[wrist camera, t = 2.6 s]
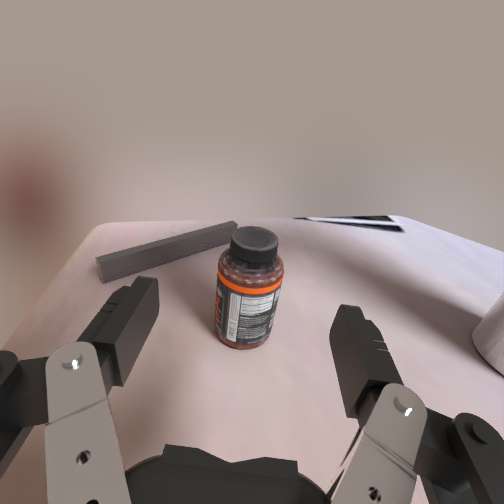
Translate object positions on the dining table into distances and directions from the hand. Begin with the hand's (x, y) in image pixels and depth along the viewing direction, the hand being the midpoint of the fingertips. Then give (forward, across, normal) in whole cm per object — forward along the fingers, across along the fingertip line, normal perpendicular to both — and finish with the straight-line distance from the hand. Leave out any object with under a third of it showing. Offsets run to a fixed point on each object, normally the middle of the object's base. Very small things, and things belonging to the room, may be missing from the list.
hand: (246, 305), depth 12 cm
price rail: (+23, +10, +14) cm, 29 cm away
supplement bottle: (+12, 0, +14) cm, 18 cm away
